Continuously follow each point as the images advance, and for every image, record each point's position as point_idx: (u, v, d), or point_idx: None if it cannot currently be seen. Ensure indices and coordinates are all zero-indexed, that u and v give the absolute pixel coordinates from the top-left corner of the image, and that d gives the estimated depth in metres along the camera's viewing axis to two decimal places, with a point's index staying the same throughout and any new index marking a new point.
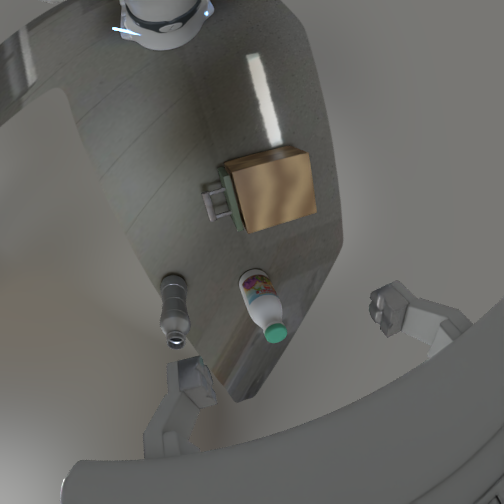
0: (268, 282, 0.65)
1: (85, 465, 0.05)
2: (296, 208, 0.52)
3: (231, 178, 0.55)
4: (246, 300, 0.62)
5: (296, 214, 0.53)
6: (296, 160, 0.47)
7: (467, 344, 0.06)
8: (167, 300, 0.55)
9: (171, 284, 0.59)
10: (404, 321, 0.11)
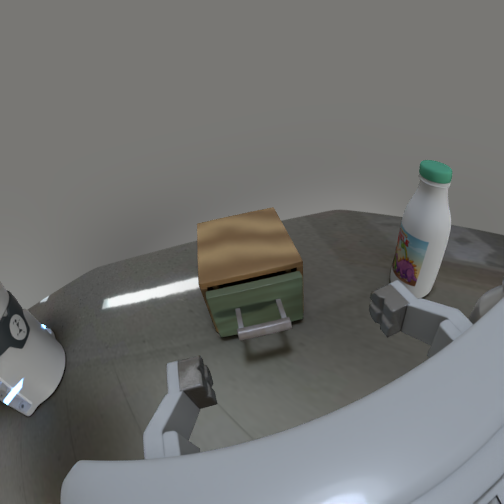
0: None
1: (85, 465, 0.05)
2: (265, 222, 0.40)
3: None
4: (428, 257, 0.31)
5: (274, 221, 0.40)
6: (203, 230, 0.41)
7: (467, 344, 0.06)
8: None
9: None
10: (404, 321, 0.11)
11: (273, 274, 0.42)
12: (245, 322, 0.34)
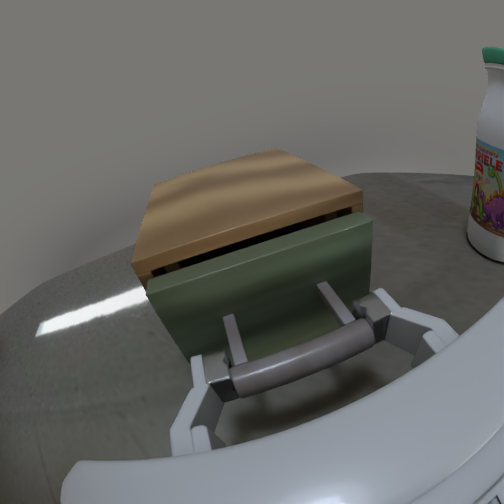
0: (473, 188, 0.19)
1: (85, 465, 0.05)
2: (267, 160, 0.22)
3: None
4: None
5: (282, 157, 0.22)
6: (161, 188, 0.23)
7: (467, 344, 0.06)
8: None
9: None
10: (387, 330, 0.10)
11: None
12: (251, 347, 0.15)
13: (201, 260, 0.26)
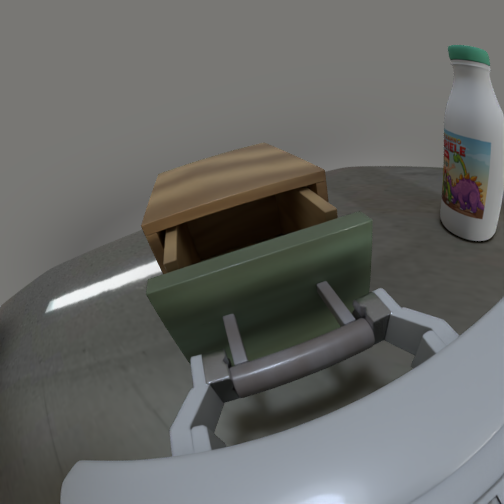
0: (443, 174, 0.23)
1: (85, 465, 0.05)
2: (255, 152, 0.26)
3: None
4: (493, 167, 0.16)
5: (267, 149, 0.26)
6: (164, 176, 0.26)
7: (467, 344, 0.06)
8: None
9: None
10: (387, 330, 0.10)
11: None
12: (251, 347, 0.15)
13: (201, 260, 0.26)
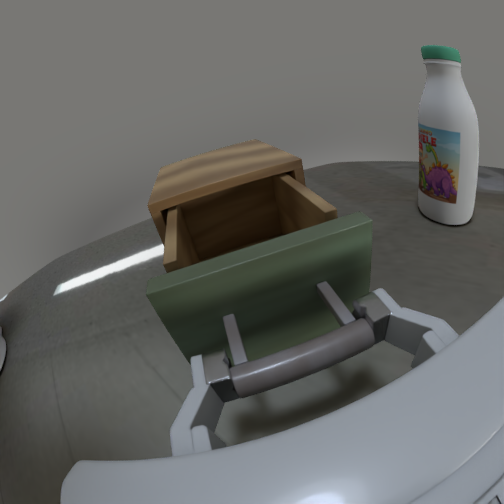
0: (419, 164, 0.26)
1: (85, 465, 0.05)
2: (246, 147, 0.29)
3: None
4: (464, 155, 0.19)
5: (256, 144, 0.29)
6: (166, 169, 0.30)
7: (467, 344, 0.06)
8: None
9: None
10: (387, 331, 0.10)
11: None
12: (251, 347, 0.15)
13: (201, 260, 0.26)
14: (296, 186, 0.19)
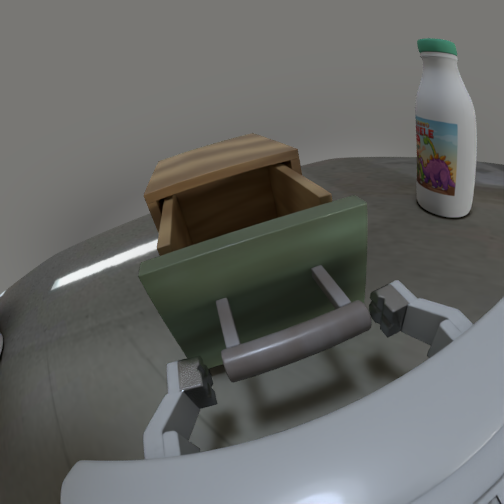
0: None
1: (85, 465, 0.05)
2: (243, 140, 0.29)
3: None
4: (461, 147, 0.19)
5: (254, 138, 0.29)
6: (164, 162, 0.29)
7: (467, 344, 0.06)
8: None
9: None
10: (404, 321, 0.11)
11: None
12: (245, 334, 0.15)
13: None
14: (291, 174, 0.19)
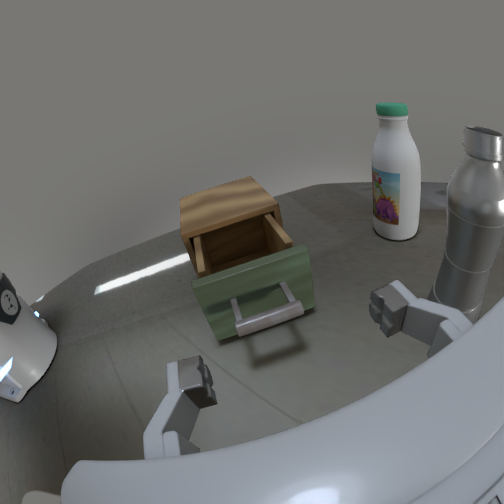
0: None
1: (85, 465, 0.05)
2: (243, 185, 0.42)
3: None
4: (403, 189, 0.32)
5: (251, 183, 0.42)
6: (185, 201, 0.42)
7: (467, 344, 0.06)
8: (459, 261, 0.17)
9: (437, 299, 0.21)
10: (404, 321, 0.11)
11: None
12: (245, 317, 0.28)
13: (213, 267, 0.39)
14: (273, 223, 0.31)
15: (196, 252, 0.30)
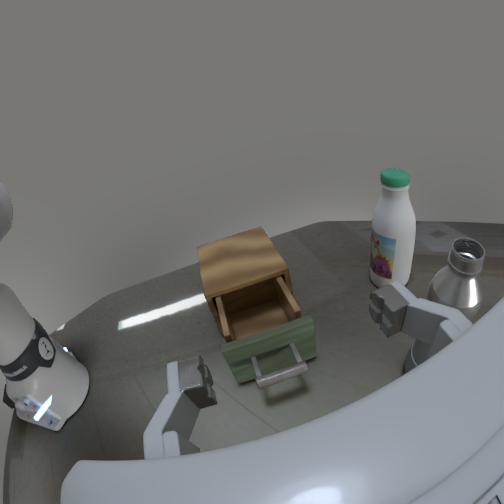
0: None
1: (85, 465, 0.05)
2: (255, 239, 0.47)
3: None
4: (398, 251, 0.38)
5: (262, 237, 0.47)
6: (202, 252, 0.48)
7: (467, 344, 0.06)
8: None
9: (413, 359, 0.26)
10: (404, 321, 0.11)
11: (282, 314, 0.42)
12: (261, 367, 0.33)
13: (230, 315, 0.44)
14: (284, 288, 0.37)
15: (220, 314, 0.35)
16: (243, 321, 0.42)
